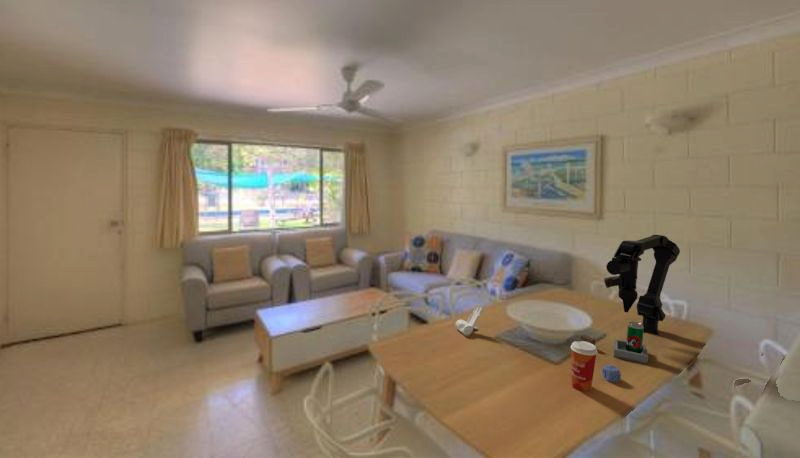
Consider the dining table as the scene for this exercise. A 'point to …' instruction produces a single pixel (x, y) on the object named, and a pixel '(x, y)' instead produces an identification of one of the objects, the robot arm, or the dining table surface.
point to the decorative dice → (611, 373)
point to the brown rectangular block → (587, 339)
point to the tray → (632, 356)
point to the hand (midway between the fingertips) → (625, 308)
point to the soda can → (634, 337)
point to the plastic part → (469, 321)
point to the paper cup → (582, 364)
